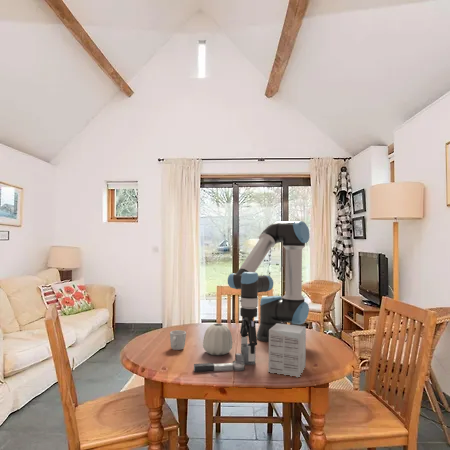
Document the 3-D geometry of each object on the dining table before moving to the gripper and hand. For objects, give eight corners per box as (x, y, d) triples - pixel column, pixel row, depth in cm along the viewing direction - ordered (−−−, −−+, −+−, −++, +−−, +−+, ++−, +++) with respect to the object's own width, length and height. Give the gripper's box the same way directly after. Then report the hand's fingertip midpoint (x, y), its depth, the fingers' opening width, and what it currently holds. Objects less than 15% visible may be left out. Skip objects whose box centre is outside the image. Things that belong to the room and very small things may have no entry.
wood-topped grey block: (252, 360, 160) (252, 343, 160) (255, 364, 155) (255, 346, 155) (240, 360, 159) (241, 343, 159) (243, 364, 154) (244, 347, 154)
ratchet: (242, 366, 152) (242, 352, 152) (245, 370, 147) (245, 355, 147) (193, 368, 148) (193, 354, 148) (194, 373, 143) (195, 358, 143)
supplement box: (275, 362, 157) (276, 322, 158) (305, 367, 152) (306, 326, 153) (267, 372, 145) (268, 329, 146) (300, 378, 140) (300, 333, 141)
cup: (180, 353, 168) (181, 336, 168) (164, 352, 169) (165, 335, 170) (187, 346, 178) (188, 330, 179) (172, 345, 180) (173, 329, 180)
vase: (210, 359, 160) (211, 329, 161) (198, 350, 172) (199, 322, 173) (237, 355, 166) (238, 326, 167) (223, 347, 179) (224, 320, 179)
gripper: (234, 302, 169) (233, 348, 168) (247, 312, 145) (246, 365, 144) (249, 302, 171) (248, 347, 169) (265, 312, 146) (264, 365, 145)
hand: (247, 356), depth 157 cm, fingers open, 13 cm apart
